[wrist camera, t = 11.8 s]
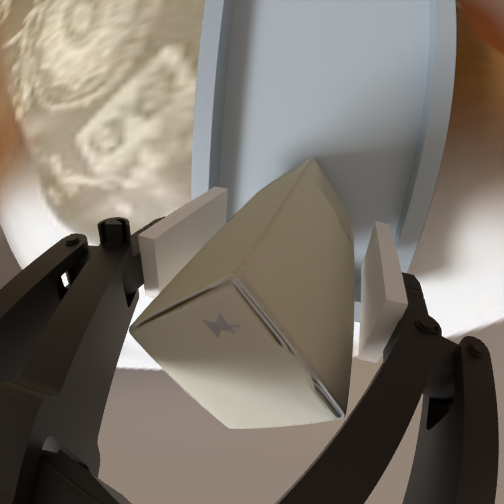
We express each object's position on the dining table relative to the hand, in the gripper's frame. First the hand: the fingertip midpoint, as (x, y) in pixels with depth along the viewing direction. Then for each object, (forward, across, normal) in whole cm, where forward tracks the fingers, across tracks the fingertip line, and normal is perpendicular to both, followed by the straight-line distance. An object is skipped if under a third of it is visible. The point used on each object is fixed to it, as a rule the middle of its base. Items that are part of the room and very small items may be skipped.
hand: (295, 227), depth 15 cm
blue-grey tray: (+6, 0, +6) cm, 9 cm away
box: (+3, 0, 0) cm, 3 cm away
